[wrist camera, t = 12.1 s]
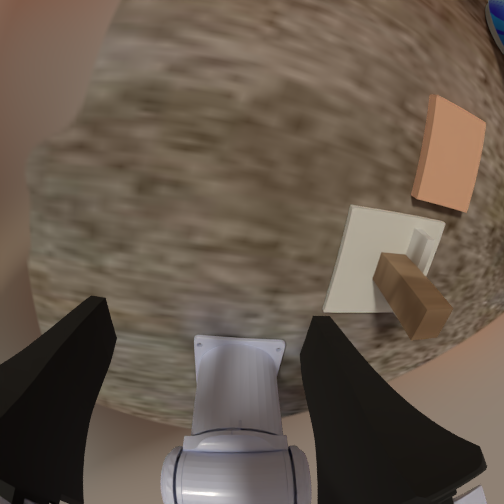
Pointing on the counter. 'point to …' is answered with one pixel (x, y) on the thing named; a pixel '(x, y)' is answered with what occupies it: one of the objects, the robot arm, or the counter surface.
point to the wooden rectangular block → (412, 288)
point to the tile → (449, 155)
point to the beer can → (496, 21)
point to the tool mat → (371, 256)
